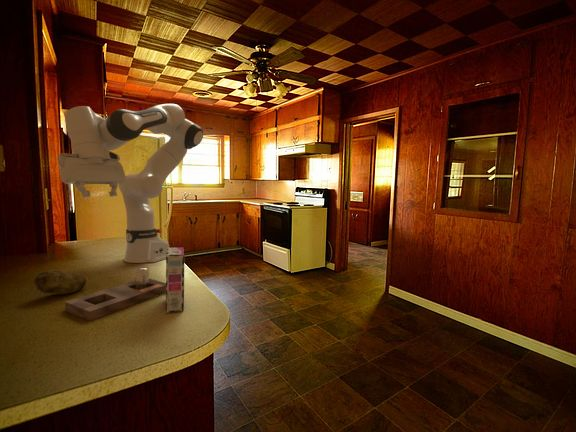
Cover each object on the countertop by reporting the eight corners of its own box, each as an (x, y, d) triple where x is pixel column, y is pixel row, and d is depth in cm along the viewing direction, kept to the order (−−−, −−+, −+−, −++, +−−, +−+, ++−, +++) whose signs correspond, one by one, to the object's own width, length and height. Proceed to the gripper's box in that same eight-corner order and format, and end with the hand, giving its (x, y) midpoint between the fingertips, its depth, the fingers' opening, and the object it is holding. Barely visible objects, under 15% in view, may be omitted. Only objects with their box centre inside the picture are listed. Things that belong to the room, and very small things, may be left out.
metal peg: (142, 289, 98) (142, 266, 97) (151, 291, 96) (151, 267, 95) (132, 293, 94) (131, 268, 93) (140, 295, 92) (140, 270, 92)
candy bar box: (184, 311, 83) (184, 254, 81) (165, 313, 81) (165, 255, 79) (184, 296, 93) (183, 246, 92) (166, 298, 91) (166, 246, 90)
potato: (87, 293, 93) (86, 269, 92) (34, 302, 85) (32, 275, 85) (86, 286, 100) (85, 263, 99) (36, 293, 92) (34, 268, 91)
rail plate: (146, 284, 103) (146, 277, 103) (170, 291, 98) (169, 283, 97) (65, 310, 81) (64, 300, 81) (90, 320, 76) (89, 310, 75)
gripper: (63, 148, 86) (75, 194, 86) (123, 156, 105) (133, 193, 105) (49, 155, 88) (61, 200, 88) (111, 161, 107) (120, 198, 107)
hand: (100, 196), depth 97 cm, fingers open, 8 cm apart
